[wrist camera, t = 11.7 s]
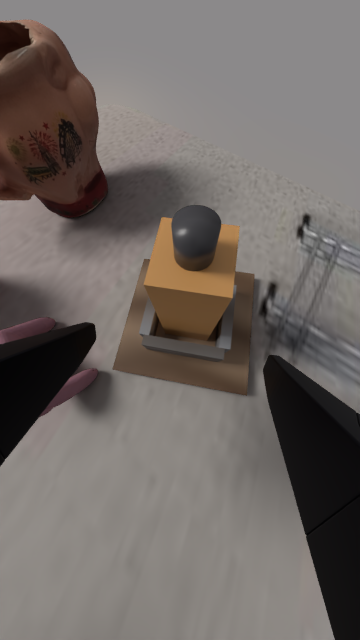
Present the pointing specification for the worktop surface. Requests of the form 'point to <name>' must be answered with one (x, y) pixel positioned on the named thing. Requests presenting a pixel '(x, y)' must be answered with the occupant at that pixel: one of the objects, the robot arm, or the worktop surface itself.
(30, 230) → the worktop surface
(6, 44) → the decorative planter
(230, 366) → the holder
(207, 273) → the plug
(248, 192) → the worktop surface
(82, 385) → the video game controller
